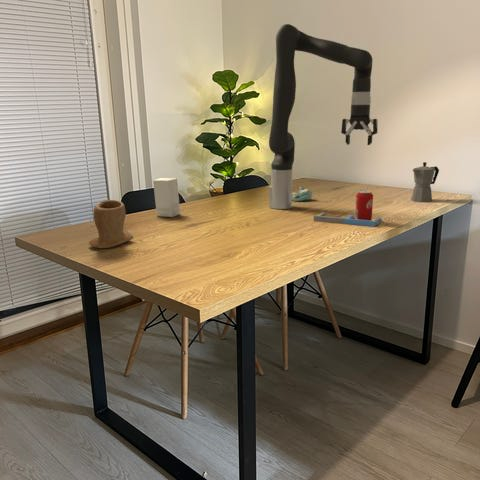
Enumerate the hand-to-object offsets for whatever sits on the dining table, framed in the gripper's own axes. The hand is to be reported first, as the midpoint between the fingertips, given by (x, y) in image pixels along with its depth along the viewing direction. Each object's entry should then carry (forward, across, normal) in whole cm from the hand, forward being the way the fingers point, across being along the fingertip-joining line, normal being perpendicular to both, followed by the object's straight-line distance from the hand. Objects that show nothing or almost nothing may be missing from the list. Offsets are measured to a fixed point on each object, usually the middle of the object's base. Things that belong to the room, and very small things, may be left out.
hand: (358, 144), depth 194 cm
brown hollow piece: (+28, -60, -83) cm, 106 cm away
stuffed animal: (+28, -31, +15) cm, 44 cm away
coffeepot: (+28, +23, +37) cm, 52 cm away
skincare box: (+28, -70, -39) cm, 85 cm away
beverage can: (+28, +8, -17) cm, 34 cm away
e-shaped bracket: (+28, +2, -18) cm, 33 cm away
